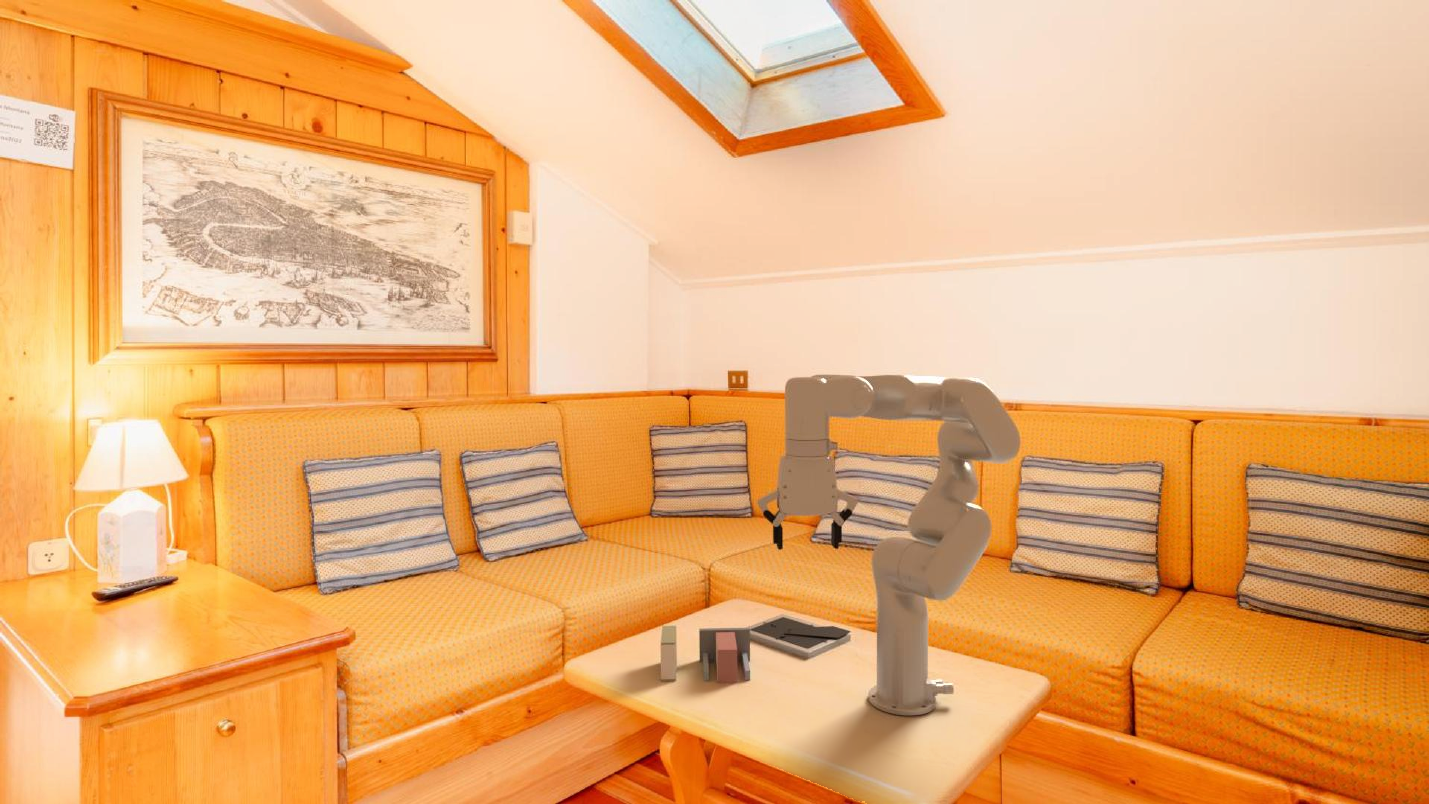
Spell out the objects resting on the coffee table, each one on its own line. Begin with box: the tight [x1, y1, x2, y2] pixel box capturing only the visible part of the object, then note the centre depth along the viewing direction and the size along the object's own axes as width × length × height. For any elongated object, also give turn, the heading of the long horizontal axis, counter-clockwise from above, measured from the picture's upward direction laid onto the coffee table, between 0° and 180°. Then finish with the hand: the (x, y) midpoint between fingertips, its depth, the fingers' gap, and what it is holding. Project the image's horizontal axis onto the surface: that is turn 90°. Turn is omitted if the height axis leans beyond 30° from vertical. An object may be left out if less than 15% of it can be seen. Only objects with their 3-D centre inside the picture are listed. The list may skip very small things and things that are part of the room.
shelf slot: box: [698, 627, 751, 682], centre depth 165 cm, size 11×11×7 cm
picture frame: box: [745, 614, 852, 660], centre depth 184 cm, size 16×3×21 cm
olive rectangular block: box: [660, 625, 678, 682], centre depth 165 cm, size 3×10×8 cm, turn 2°
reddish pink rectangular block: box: [715, 632, 738, 684], centre depth 164 cm, size 4×10×7 cm, turn 2°
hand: (807, 547), depth 135 cm, fingers open, 9 cm apart
